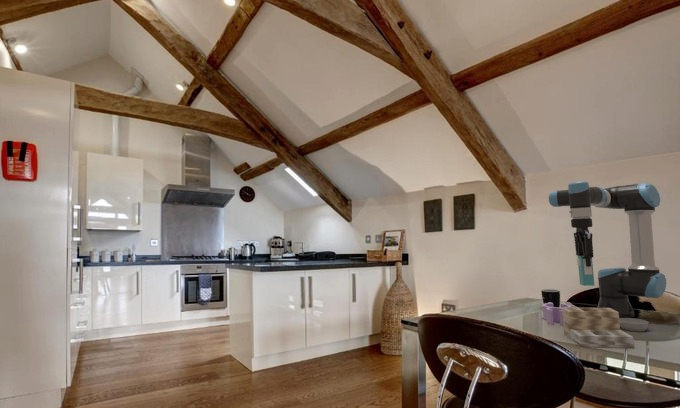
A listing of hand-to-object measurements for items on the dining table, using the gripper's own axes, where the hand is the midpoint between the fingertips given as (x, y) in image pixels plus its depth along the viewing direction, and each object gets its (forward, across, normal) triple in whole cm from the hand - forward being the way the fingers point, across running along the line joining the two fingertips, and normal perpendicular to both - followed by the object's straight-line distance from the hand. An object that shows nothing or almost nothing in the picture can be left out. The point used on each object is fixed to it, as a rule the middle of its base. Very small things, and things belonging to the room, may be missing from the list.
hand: (586, 273), depth 157 cm
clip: (+26, -27, -5) cm, 38 cm away
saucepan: (+26, -13, +18) cm, 34 cm away
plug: (+5, 0, 0) cm, 5 cm away
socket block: (+26, +5, 0) cm, 26 cm away
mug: (+26, -52, 0) cm, 58 cm away
